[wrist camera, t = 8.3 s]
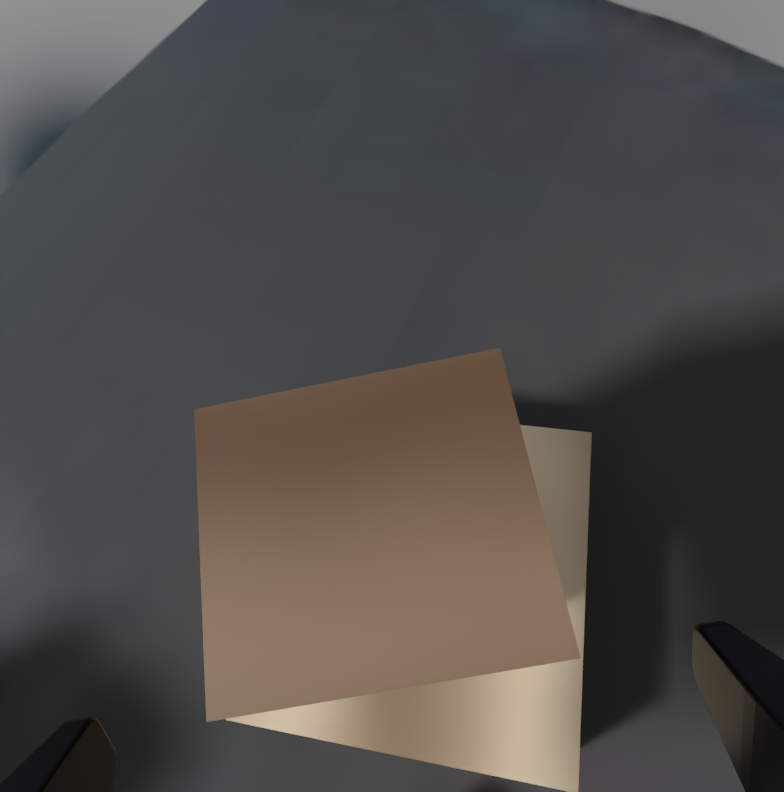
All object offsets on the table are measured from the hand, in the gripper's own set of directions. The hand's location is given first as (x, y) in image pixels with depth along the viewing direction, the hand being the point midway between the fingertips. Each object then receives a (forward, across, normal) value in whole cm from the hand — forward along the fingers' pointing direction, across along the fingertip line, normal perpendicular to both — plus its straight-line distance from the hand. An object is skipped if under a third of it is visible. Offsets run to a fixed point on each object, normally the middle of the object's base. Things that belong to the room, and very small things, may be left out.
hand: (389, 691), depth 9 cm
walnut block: (+8, 0, +4) cm, 9 cm away
